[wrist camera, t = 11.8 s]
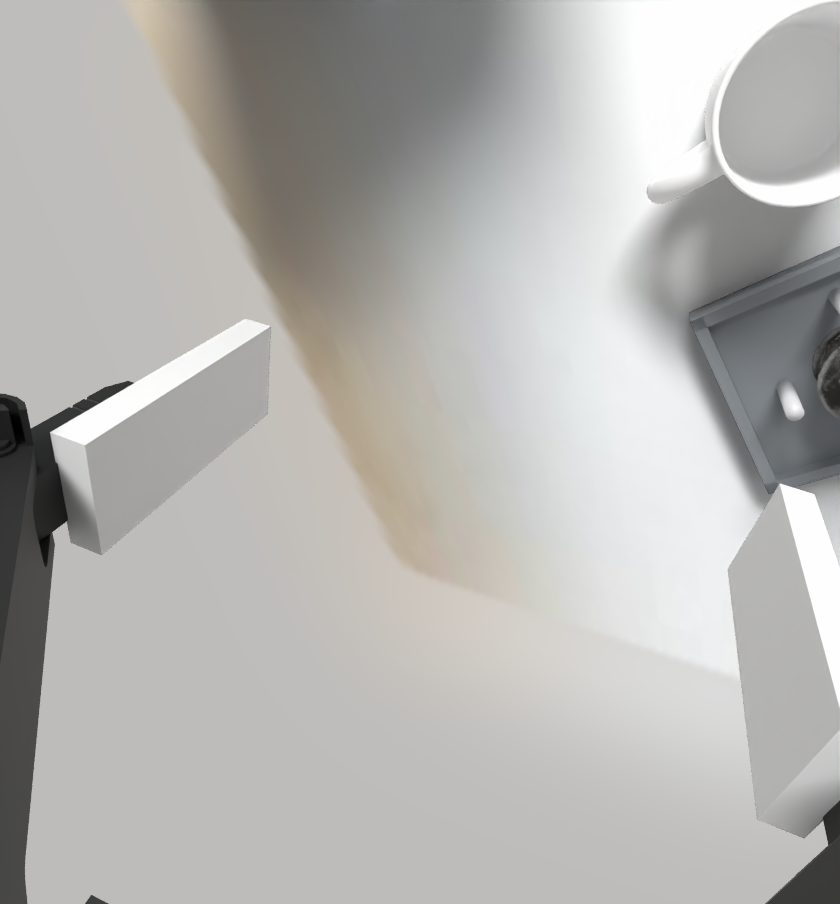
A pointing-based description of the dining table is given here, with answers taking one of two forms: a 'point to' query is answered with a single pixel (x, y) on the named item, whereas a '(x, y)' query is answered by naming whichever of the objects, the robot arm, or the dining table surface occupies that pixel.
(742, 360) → the tray
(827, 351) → the dark grey tall piece
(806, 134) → the mug
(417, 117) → the dining table surface
